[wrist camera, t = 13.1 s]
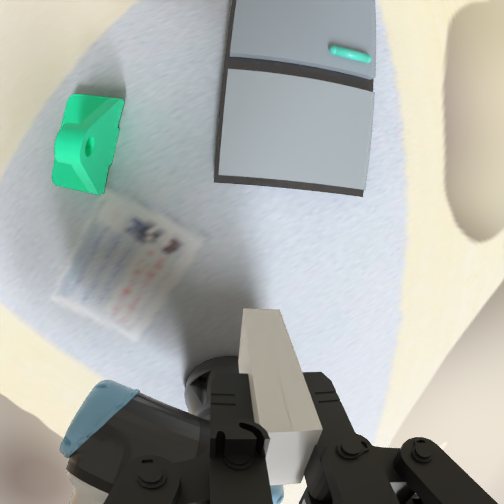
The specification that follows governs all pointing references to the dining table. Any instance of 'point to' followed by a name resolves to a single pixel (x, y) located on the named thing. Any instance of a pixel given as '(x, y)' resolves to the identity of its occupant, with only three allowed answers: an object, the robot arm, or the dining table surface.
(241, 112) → the panel
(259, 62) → the levelling base
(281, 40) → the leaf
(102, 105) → the camera mount
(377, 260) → the dining table surface
